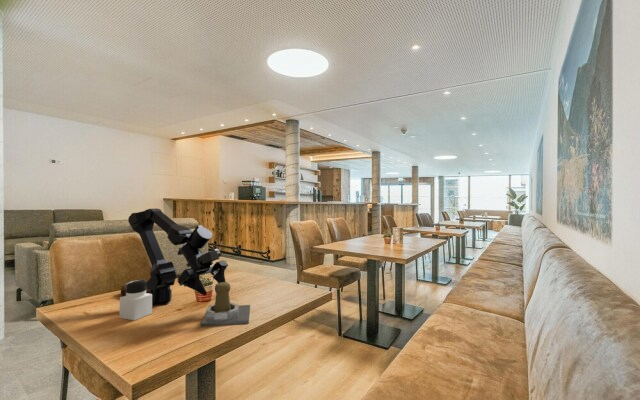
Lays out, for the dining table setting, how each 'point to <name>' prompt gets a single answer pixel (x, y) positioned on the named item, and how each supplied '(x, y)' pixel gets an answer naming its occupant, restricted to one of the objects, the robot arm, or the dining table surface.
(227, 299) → the cork
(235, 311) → the socket block
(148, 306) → the medicine bottle
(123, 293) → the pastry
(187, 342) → the dining table surface
